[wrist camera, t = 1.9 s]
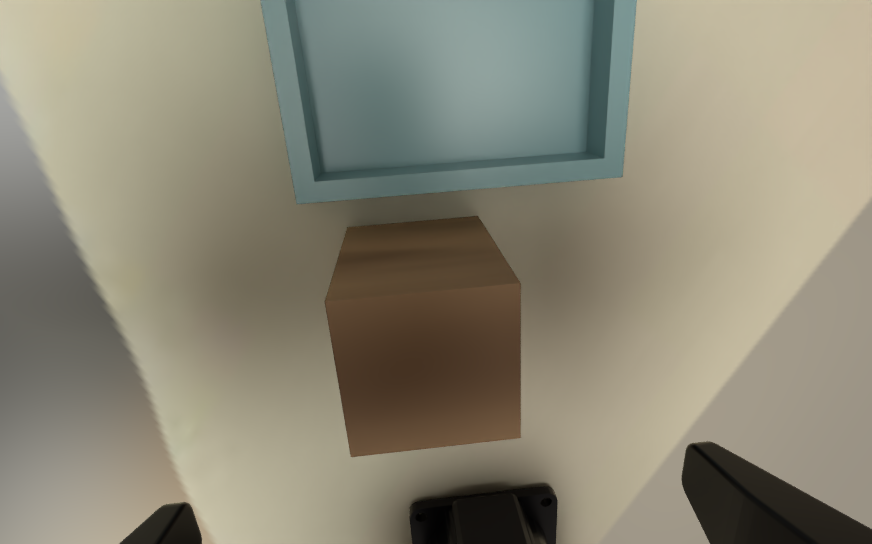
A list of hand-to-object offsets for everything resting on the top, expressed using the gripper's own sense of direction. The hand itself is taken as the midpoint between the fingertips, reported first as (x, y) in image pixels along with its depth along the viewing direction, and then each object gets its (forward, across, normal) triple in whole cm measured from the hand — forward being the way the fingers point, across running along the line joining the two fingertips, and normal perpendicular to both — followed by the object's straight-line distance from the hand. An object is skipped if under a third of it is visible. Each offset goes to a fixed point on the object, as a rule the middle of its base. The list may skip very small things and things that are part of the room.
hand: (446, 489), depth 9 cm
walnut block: (+10, 0, 0) cm, 10 cm away
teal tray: (+9, -2, -9) cm, 13 cm away
